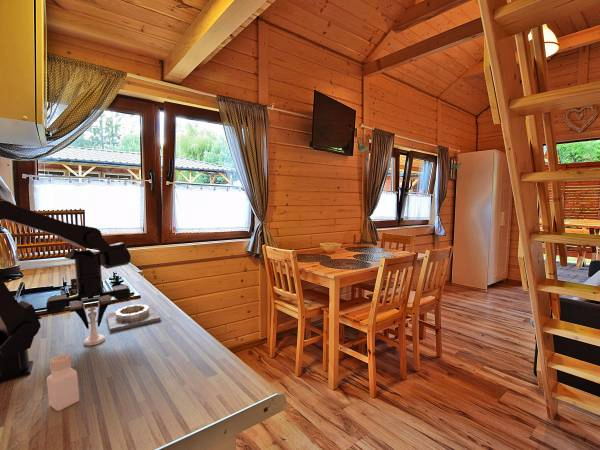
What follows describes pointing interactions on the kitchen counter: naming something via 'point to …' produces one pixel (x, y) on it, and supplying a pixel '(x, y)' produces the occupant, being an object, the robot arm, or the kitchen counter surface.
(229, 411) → the kitchen counter surface
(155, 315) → the hub plate
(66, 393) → the salt shaker
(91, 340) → the chess piece
